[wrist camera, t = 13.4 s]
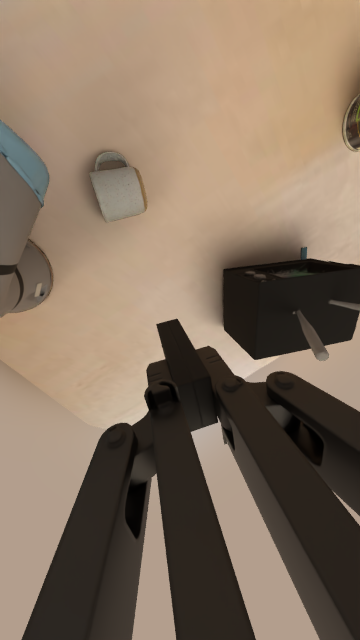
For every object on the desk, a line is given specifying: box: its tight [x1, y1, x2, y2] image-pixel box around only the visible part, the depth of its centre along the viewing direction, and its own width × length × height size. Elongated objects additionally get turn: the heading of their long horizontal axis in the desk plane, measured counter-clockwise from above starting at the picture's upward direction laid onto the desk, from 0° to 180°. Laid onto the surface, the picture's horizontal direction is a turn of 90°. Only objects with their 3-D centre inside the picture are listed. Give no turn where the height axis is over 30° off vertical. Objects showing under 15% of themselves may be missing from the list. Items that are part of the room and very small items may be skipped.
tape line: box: [301, 247, 307, 260], centre depth 57 cm, size 2×20×1 cm, turn 11°
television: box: [223, 259, 360, 361], centre depth 42 cm, size 23×30×21 cm
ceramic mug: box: [89, 152, 147, 222], centre depth 36 cm, size 11×8×8 cm
